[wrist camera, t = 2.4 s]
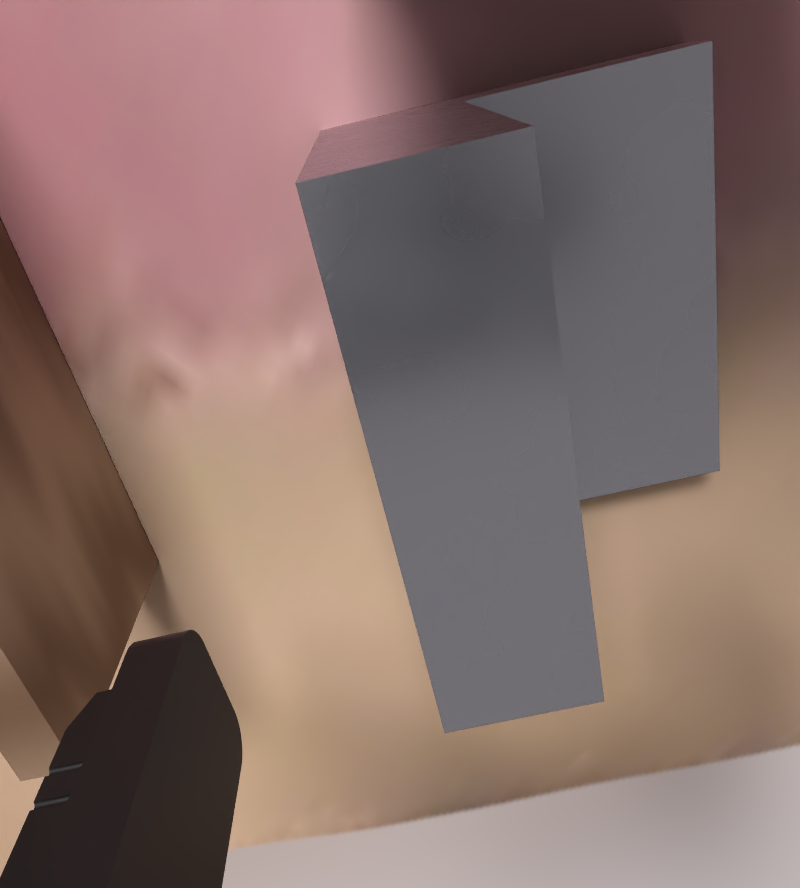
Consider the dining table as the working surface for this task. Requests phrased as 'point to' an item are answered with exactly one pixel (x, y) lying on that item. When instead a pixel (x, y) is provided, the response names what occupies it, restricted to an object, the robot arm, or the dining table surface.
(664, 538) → the dining table surface
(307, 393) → the dining table surface
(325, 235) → the bracket
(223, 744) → the robot arm
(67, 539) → the corner arena
